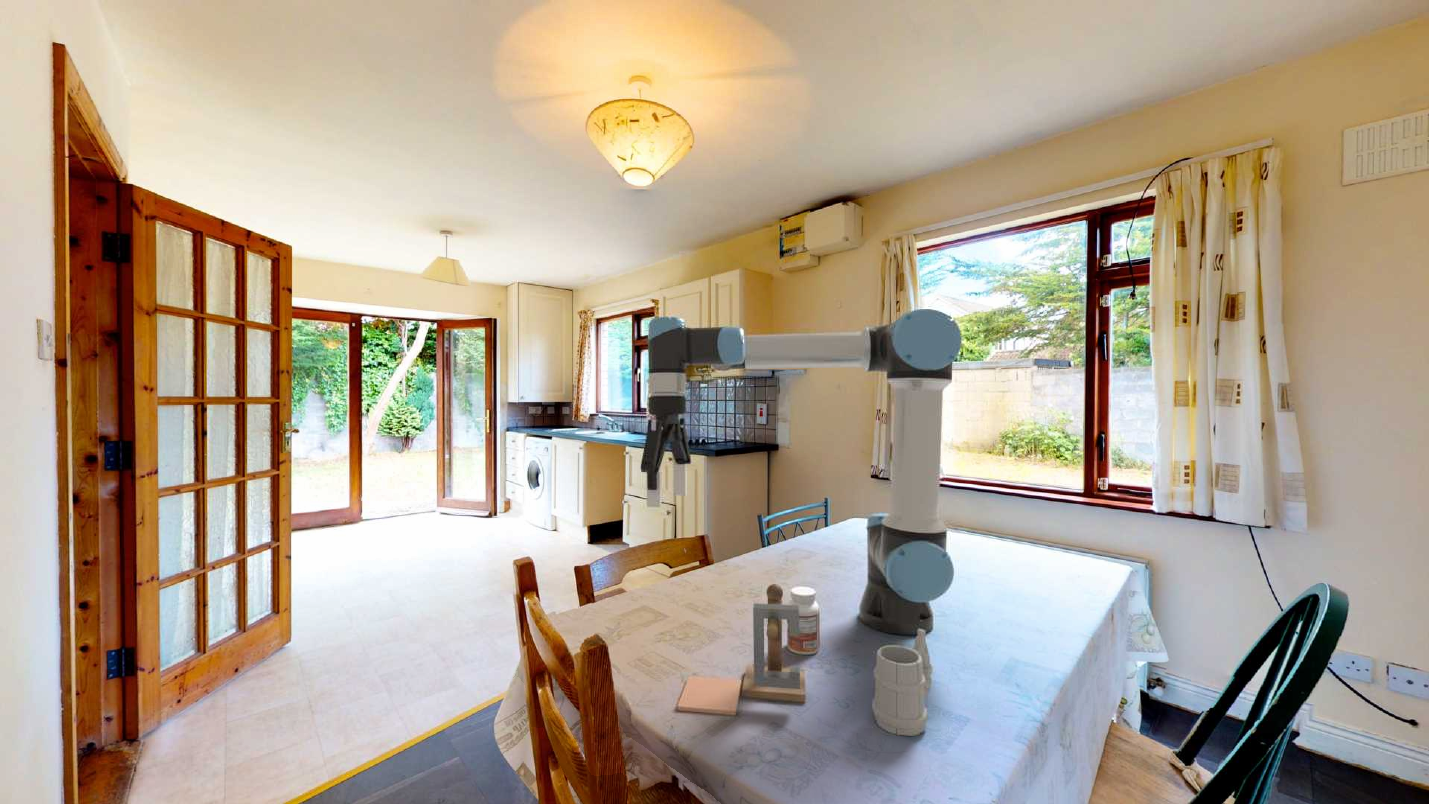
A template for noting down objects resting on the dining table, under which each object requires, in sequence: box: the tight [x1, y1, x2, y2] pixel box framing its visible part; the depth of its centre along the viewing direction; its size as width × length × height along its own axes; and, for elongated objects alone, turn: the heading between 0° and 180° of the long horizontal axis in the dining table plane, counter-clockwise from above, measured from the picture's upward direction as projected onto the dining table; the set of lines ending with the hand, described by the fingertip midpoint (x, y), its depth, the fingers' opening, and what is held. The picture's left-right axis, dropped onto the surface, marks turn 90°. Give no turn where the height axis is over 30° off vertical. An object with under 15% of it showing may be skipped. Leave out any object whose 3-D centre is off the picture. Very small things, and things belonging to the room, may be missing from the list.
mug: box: [871, 629, 933, 737], centre depth 78 cm, size 8×12×12 cm, turn 127°
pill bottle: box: [786, 586, 821, 656], centre depth 100 cm, size 6×6×11 cm
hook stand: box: [741, 583, 807, 703], centre depth 84 cm, size 14×10×16 cm
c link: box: [752, 603, 801, 689], centre depth 81 cm, size 7×2×12 cm, turn 81°
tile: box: [676, 675, 743, 716], centre depth 84 cm, size 9×9×1 cm
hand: (668, 500), depth 105 cm, fingers open, 13 cm apart
